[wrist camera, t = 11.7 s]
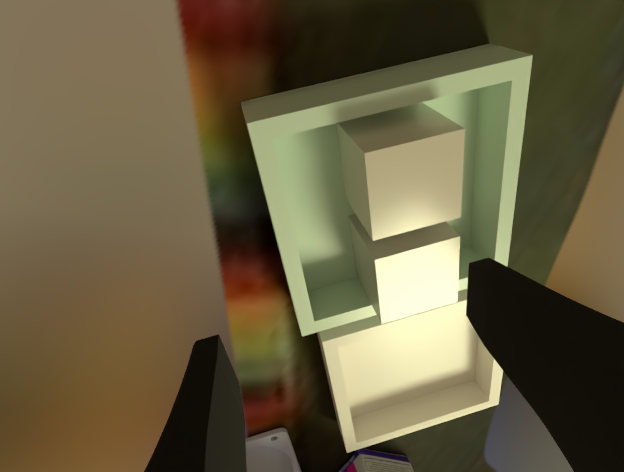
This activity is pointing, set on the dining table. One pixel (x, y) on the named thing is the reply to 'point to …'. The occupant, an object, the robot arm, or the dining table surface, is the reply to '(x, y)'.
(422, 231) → the cream cube block
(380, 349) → the tray
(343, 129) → the ivory sharp-edged cube
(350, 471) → the supplement box
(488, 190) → the tub
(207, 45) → the dining table surface
